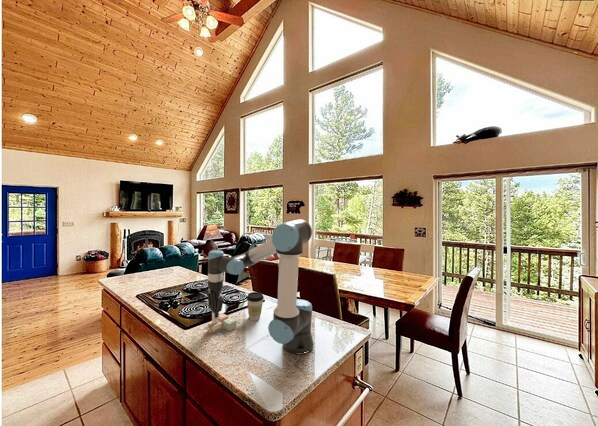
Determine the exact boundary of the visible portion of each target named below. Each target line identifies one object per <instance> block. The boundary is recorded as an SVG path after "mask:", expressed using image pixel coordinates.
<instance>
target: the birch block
mask: <svg viewBox="0 0 598 426" xmlns="http://www.w3.org/2000/svg"><path fill="white" fill-rule="evenodd" d="M207 326H208V330H207V331H209V332H210V333H212V334H213V335H215V333H217V332H219V331H221V330H222V323H221V322H219V321H218V322H217V323H215V324H213V323H212V321H210V322H208V324H207Z"/></svg>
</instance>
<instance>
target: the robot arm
mask: <svg viewBox="0 0 598 426" xmlns="http://www.w3.org/2000/svg"><path fill="white" fill-rule="evenodd" d="M312 235H313V229H312V226H311V224H310V223H309V222H308V221H306V220H304V219H300V218H299V219H294V220H291V221H285V222H282V223H280V224H278V225H277V226H276V227H274V229H273V231H272V234H271V238H270V239H268V240H267V241H264V242H263V243H261V244H260V245H257V246H255V247H254V248H252V249H250V250H247V251H246V252H244V253H241V254H238V255H234V256H232V257H230V256H229V257H228V256H226V255H225V254H224V251H223V250H221V249H211V250H210V251H209V252H208V254H207V255H208V258H207V263H208V264H207V288H208V289H206V291H205V292H206V295H207V301H208V308H209V309H211V322H212V323H213V324H215V323H217V322H218V317H219V316H218V315H220V313H221V311H222V310H223V304H224V299H225V298H226V295H225V294H224V295H223V293H222V292H223V291H222V288H223V287H224V280H223V279H224V273H226V274H230V275H235V276H237V275H238V276H239V275H240V274H241V273H242V272H243V271H244V269H245V268H248V267H251V266H254V265H256V264H257V263H258V262H261V261H263V260H264V259H265V260H266V259H267V258H269V257H271V256H273V255H275V254H277V255H278V256H279V257H278V259H279V260H278V281H277V304H276V305H277V306H276V307H275V308H274V309H273V316H272V317H273V319H272V320H271V321H270V322H269V323H268V327H267V329H268V333H269V335H270V337H271V338H272V340H273V341H275V342H276V343H278V344H281V345H283V348H284V349H285V350H286V351H287V350H288V351H290V352H292V353H291V354H293V353H304V352H307V351H310V350H311V349H312V348H313V349H314V344H315V343H314V339H313V335H312V316H313V315H312V314H313V305H312V303H311V302H309V300H305V299H299V298H298V278H299V262H300V261H299V260H300V256H302V255H303V254H304V253H303V252H304V245H305V244H306V243H308V242H309V241H310V240H311V238H312ZM313 349H312V350H313ZM312 350H311V351H312ZM288 351H287V352H288ZM311 351H310V352H311ZM290 352H289V353H290Z"/></svg>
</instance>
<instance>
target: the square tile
mask: <svg viewBox="0 0 598 426" xmlns="http://www.w3.org/2000/svg"><path fill="white" fill-rule="evenodd" d="M204 329H206V330H207V331H208V325H207V326H205V327H204ZM228 332H229V331H228V330H227V329H225V328H223V325H222V330H221V331H219V332H217V333H215V334H214V335H215V336H216V337H221V336H222V335H224V334H226V333H228Z"/></svg>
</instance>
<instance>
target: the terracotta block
mask: <svg viewBox="0 0 598 426" xmlns="http://www.w3.org/2000/svg"><path fill="white" fill-rule="evenodd" d="M218 316H219V317H218V321H219V322H221V323H222V325H223V321H224V320H226V319H228V318H229V315H227V314H225V313H223V312H221V313H219V315H218Z"/></svg>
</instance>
